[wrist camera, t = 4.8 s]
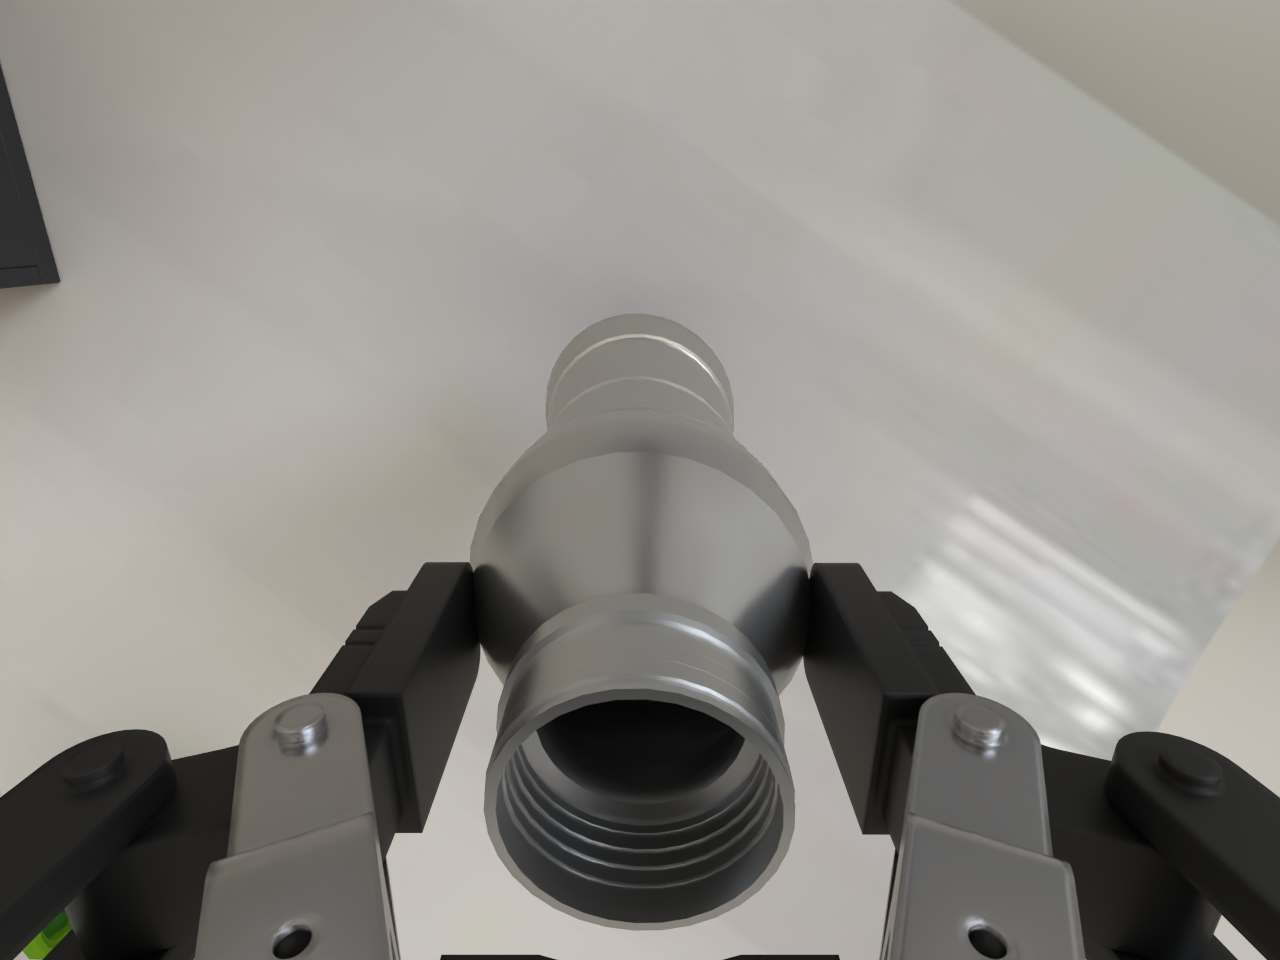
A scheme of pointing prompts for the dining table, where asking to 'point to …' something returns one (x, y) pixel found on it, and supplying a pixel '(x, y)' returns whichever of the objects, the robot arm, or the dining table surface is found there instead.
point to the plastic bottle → (640, 639)
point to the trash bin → (20, 212)
